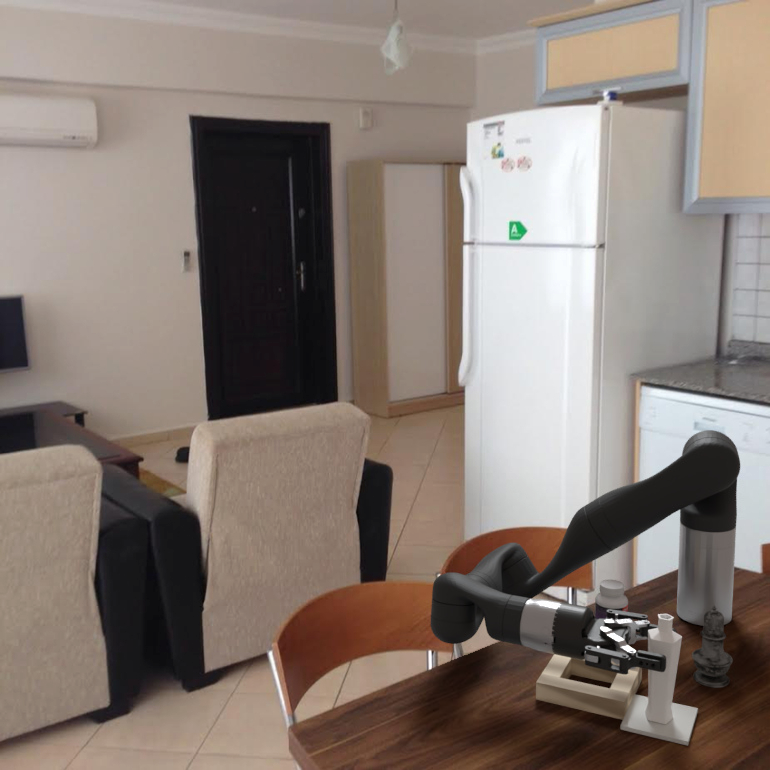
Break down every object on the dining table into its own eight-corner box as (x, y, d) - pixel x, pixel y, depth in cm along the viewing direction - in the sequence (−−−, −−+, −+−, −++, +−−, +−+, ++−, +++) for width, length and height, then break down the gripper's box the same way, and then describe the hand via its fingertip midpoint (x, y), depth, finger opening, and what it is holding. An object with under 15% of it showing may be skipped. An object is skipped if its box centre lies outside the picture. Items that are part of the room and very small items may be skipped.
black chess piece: (735, 690, 129) (738, 615, 127) (693, 687, 131) (696, 613, 128) (727, 670, 135) (731, 598, 133) (688, 667, 136) (691, 596, 134)
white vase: (677, 712, 123) (685, 613, 121) (673, 727, 119) (681, 625, 117) (644, 704, 125) (651, 607, 123) (639, 719, 121) (646, 619, 119)
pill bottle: (628, 646, 144) (630, 591, 142) (595, 644, 145) (596, 589, 143) (625, 631, 149) (626, 578, 147) (593, 629, 150) (594, 576, 148)
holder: (559, 662, 139) (559, 646, 138) (641, 680, 133) (642, 663, 132) (535, 699, 128) (536, 682, 128) (624, 720, 122) (624, 702, 122)
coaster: (634, 697, 128) (634, 694, 128) (697, 712, 124) (697, 708, 124) (620, 729, 120) (620, 725, 120) (688, 745, 116) (688, 741, 116)
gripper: (570, 631, 134) (678, 652, 126) (542, 673, 121) (660, 700, 114) (570, 585, 132) (680, 604, 125) (542, 624, 120) (662, 647, 113)
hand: (671, 650), depth 119 cm, fingers open, 8 cm apart
